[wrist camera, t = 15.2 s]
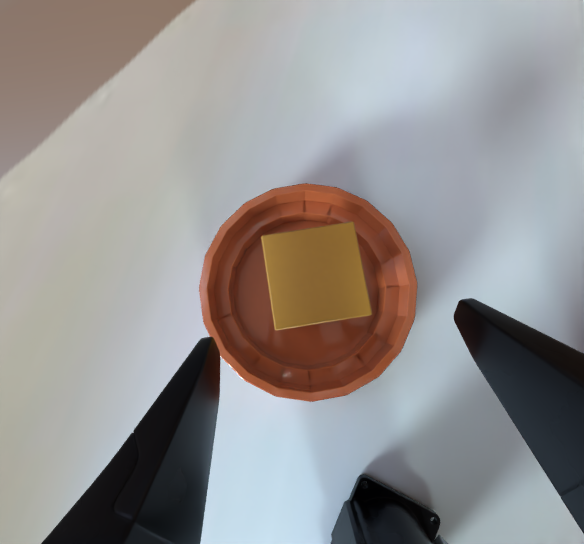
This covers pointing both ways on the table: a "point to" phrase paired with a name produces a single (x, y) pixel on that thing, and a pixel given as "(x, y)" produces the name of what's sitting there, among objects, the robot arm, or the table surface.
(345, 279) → the ochre block
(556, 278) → the table surface
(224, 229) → the bowl
